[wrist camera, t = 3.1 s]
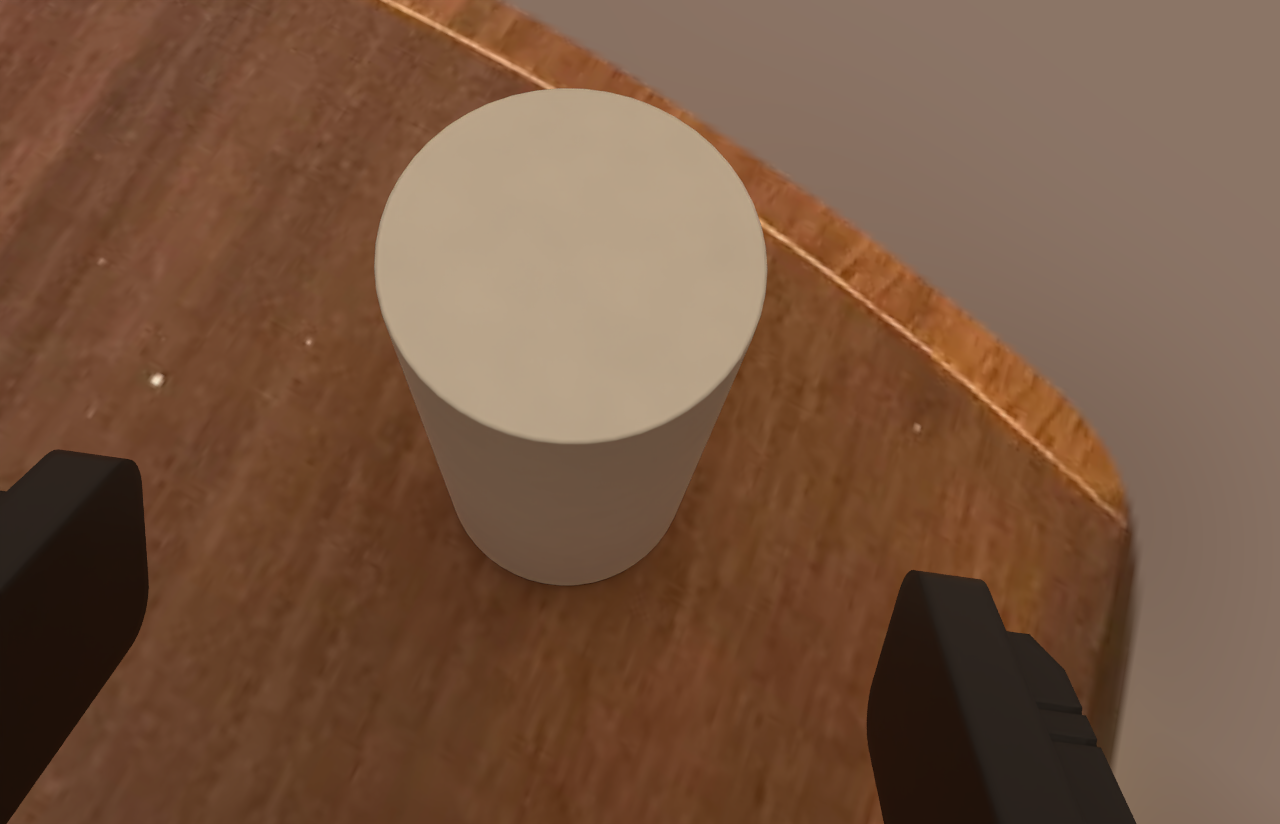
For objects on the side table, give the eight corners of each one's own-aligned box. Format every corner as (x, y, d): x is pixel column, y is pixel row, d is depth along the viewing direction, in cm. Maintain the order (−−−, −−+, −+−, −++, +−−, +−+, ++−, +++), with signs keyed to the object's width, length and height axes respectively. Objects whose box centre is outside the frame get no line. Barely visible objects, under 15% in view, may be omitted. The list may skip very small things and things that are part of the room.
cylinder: (711, 399, 22) (810, 150, 13) (644, 617, 20) (706, 496, 12) (495, 331, 22) (455, 41, 13) (414, 543, 20) (311, 371, 12)
